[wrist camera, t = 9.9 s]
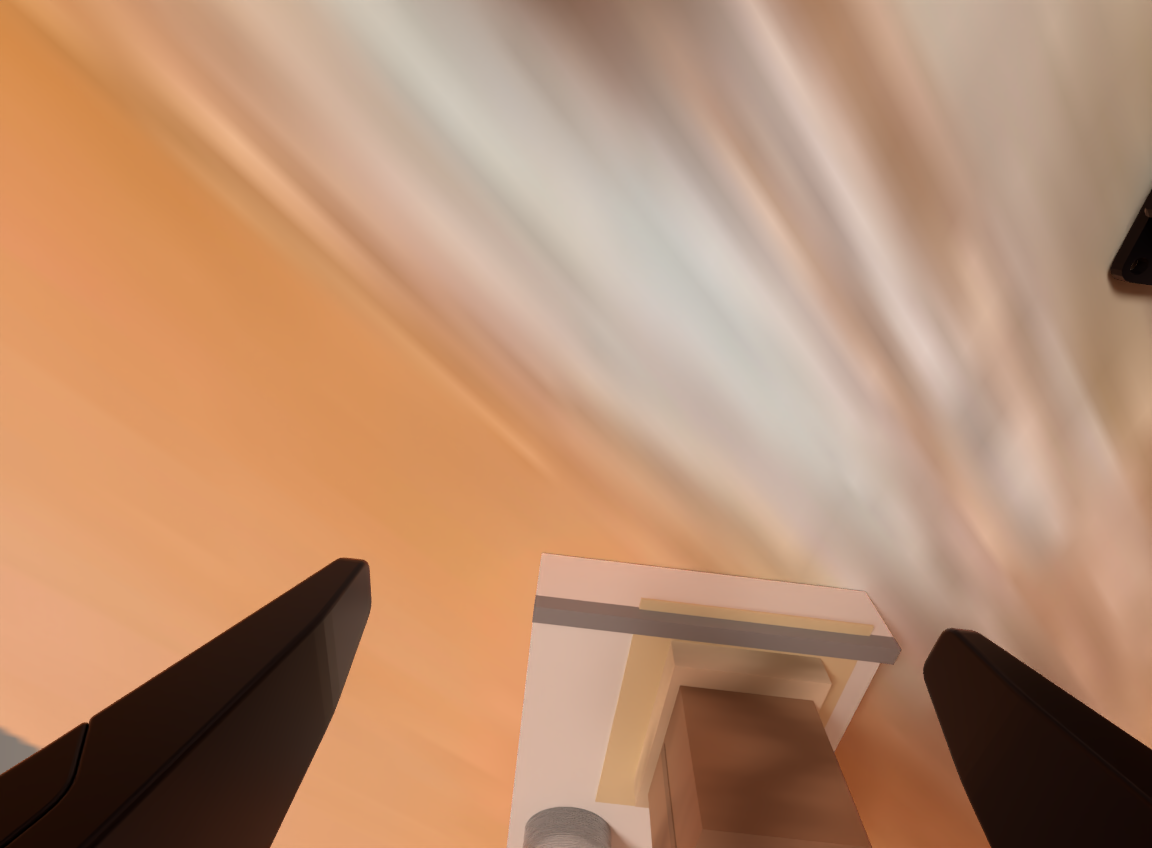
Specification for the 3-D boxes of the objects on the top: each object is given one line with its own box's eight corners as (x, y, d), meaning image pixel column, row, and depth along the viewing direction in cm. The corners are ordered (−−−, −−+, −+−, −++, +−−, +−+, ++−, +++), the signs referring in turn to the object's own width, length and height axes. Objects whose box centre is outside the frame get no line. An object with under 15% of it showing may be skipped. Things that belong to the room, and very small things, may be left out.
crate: (820, 657, 22) (897, 830, 16) (760, 793, 26) (805, 969, 20) (671, 640, 22) (696, 808, 16) (633, 779, 25) (643, 952, 20)
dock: (869, 582, 23) (906, 640, 20) (755, 829, 31) (770, 895, 28) (542, 543, 23) (535, 596, 20) (512, 802, 31) (504, 866, 28)
